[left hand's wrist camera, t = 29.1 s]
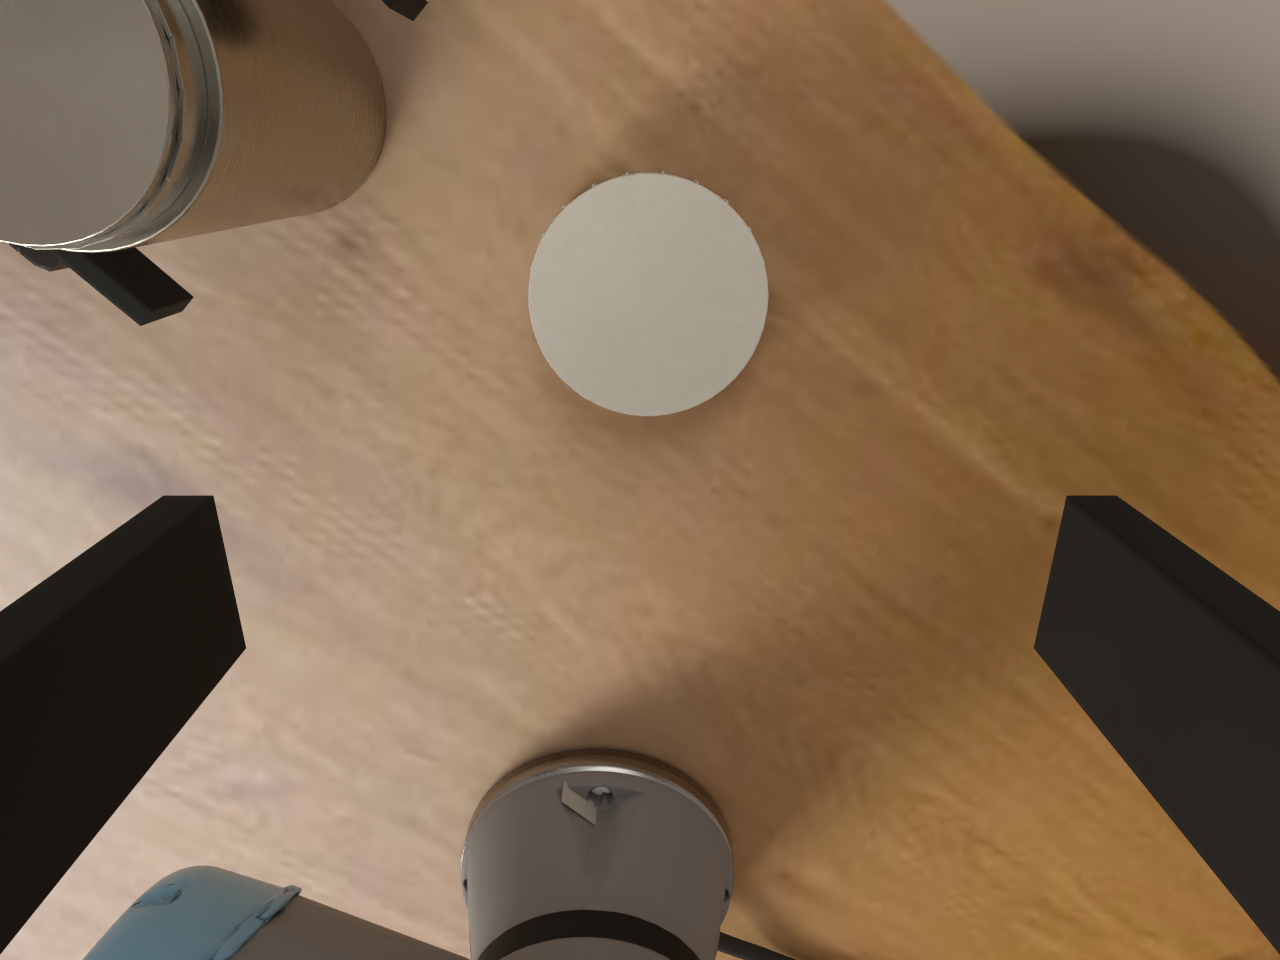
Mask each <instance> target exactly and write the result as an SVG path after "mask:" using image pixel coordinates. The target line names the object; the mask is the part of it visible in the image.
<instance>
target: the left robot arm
mask: <svg viewBox="0 0 1280 960" xmlns="http://www.w3.org/2000/svg"><path fill="white" fill-rule="evenodd" d="M245 649H246V645H245V641H244V636H243V631H242V627H241V622H240V618H239V613H238V608H237V604H236V599H235V594H234V590H233V585H232V580H231V576H230V571H229V566H228V562H227V557H226V552H225V548H224V543H223V539H222V534H221V529H220V525H219V520H218V515H217V511H216V506H215V501H214V497H213V496H162V497H161V498H160V499H158V500H157V501H155V502H154V503H153V504H151V505H150V506H148V507H147V508H145V509H144V510H143V511H141V512H140V513H138V514H137V515H136V516H134V517H133V518H131V519H130V520H129V521H127V522H126V523H124V524H123V525H122V526H120V527H119V528H117V529H116V530H115V531H113V532H112V533H110V534H109V535H107V536H106V537H105V538H103V539H102V540H100V541H99V542H98V543H96V544H95V545H93V546H92V547H91V548H89V549H88V550H86V551H85V552H84V553H82V554H81V555H79V556H78V557H76V558H75V559H74V560H72V561H71V562H69V563H68V564H67V565H65V566H64V567H62V568H61V569H60V570H58V571H57V572H55V573H54V574H53V575H51V576H50V577H48V578H47V579H46V580H44V581H43V582H41V583H40V584H38V585H37V586H36V587H34V588H33V589H31V590H30V591H29V592H27V593H26V594H24V595H23V596H22V597H20V598H19V599H17V600H16V601H15V602H13V603H12V604H10V605H9V606H8V607H6V608H5V609H3V610H2V611H0V954H1V953H2V952H3V950H4V949H5V948H6V947H7V945H8V944H9V943H10V942H11V940H12V939H13V938H14V937H15V935H16V934H17V933H18V932H19V930H20V929H21V928H22V927H23V925H24V924H25V923H26V922H27V920H28V919H29V918H30V917H31V915H32V914H33V913H34V912H35V910H36V909H37V908H38V907H39V905H40V904H41V903H42V902H43V900H44V899H45V898H46V897H47V895H48V894H49V893H50V892H51V890H52V889H53V888H54V887H55V885H56V884H57V883H58V882H59V881H60V879H61V878H62V877H63V876H64V874H65V873H66V872H67V871H68V869H69V868H70V867H71V866H72V864H73V863H74V862H75V861H76V859H77V858H78V857H79V856H80V854H81V853H82V852H83V851H84V849H85V848H86V847H87V846H88V844H89V843H90V842H91V841H92V839H93V838H94V837H95V836H96V834H97V833H98V832H99V831H100V829H101V828H102V827H103V826H104V824H105V823H106V822H107V821H108V819H109V818H110V817H111V816H112V814H113V813H114V812H115V811H116V809H117V808H118V807H119V806H120V805H121V803H122V802H123V801H124V800H125V798H126V797H127V796H128V795H129V793H130V792H131V791H132V790H133V788H134V787H135V786H136V785H137V783H138V782H139V781H140V780H141V778H142V777H143V776H144V775H145V773H146V772H147V771H148V770H149V768H150V767H151V766H152V765H153V763H154V762H155V761H156V760H157V758H158V757H159V756H160V755H161V753H162V752H163V751H164V750H165V748H166V747H167V746H168V745H169V743H170V742H171V741H172V740H173V738H174V737H175V736H176V735H177V733H178V732H179V731H180V730H181V729H182V727H183V726H184V725H185V724H186V722H187V721H188V720H189V719H190V717H191V716H192V715H193V714H194V712H195V711H196V710H197V709H198V707H199V706H200V705H201V704H202V702H203V701H204V700H205V699H206V697H207V696H208V695H209V694H210V692H211V691H212V690H213V689H214V687H215V686H216V685H217V684H218V682H219V681H220V680H221V679H222V677H223V676H224V675H225V674H226V672H227V671H228V670H229V669H230V667H231V666H232V665H233V664H234V662H235V661H236V660H237V659H238V657H239V656H240V655H241V654H242V653H243V651H244V650H245ZM1034 649H1035V650H1036V651H1037V653H1038V654H1039V655H1040V656H1041V657H1042V659H1043V660H1044V661H1045V662H1046V664H1047V665H1048V666H1049V667H1050V669H1051V670H1052V671H1053V672H1054V674H1055V675H1056V676H1057V677H1058V679H1059V680H1060V681H1061V682H1062V684H1063V685H1064V686H1065V687H1066V689H1067V690H1068V691H1069V692H1070V694H1071V695H1072V696H1073V697H1074V699H1075V700H1076V701H1077V702H1078V704H1079V705H1080V706H1081V707H1082V709H1083V710H1084V711H1085V712H1086V714H1087V715H1088V716H1089V717H1090V719H1091V720H1092V721H1093V722H1094V724H1095V725H1096V726H1097V727H1098V729H1099V730H1100V731H1101V732H1102V733H1103V735H1104V736H1105V737H1106V738H1107V740H1108V741H1109V742H1110V743H1111V745H1112V746H1113V747H1114V748H1115V750H1116V751H1117V752H1118V753H1119V755H1120V756H1121V757H1122V758H1123V760H1124V761H1125V762H1126V763H1127V765H1128V766H1129V767H1130V768H1131V770H1132V771H1133V772H1134V773H1135V775H1136V776H1137V777H1138V778H1139V780H1140V781H1141V782H1142V783H1143V785H1144V786H1145V787H1146V788H1147V790H1148V791H1149V792H1150V793H1151V795H1152V796H1153V797H1154V798H1155V800H1156V801H1157V802H1158V803H1159V805H1160V806H1161V807H1162V808H1163V809H1164V811H1165V812H1166V813H1167V814H1168V816H1169V817H1170V818H1171V819H1172V821H1173V822H1174V823H1175V824H1176V826H1177V827H1178V828H1179V829H1180V831H1181V832H1182V833H1183V834H1184V836H1185V837H1186V838H1187V839H1188V841H1189V842H1190V843H1191V844H1192V846H1193V847H1194V848H1195V849H1196V851H1197V852H1198V853H1199V854H1200V856H1201V857H1202V858H1203V859H1204V861H1205V862H1206V863H1207V864H1208V866H1209V867H1210V868H1211V869H1212V871H1213V872H1214V873H1215V874H1216V876H1217V877H1218V878H1219V879H1220V881H1221V882H1222V883H1223V884H1224V886H1225V887H1226V888H1227V889H1228V890H1229V892H1230V893H1231V894H1232V895H1233V897H1234V898H1235V899H1236V900H1237V902H1238V903H1239V904H1240V905H1241V907H1242V908H1243V909H1244V910H1245V912H1246V913H1247V914H1248V915H1249V917H1250V918H1251V919H1252V920H1253V922H1254V923H1255V924H1256V925H1257V927H1258V928H1259V929H1260V930H1261V932H1262V933H1263V934H1264V935H1265V937H1266V938H1267V939H1268V940H1269V942H1270V943H1271V944H1272V945H1273V947H1274V948H1275V949H1276V950H1277V952H1278V953H1279V954H1280V611H1278V610H1277V609H1275V608H1274V607H1272V606H1271V605H1270V604H1268V603H1267V602H1265V601H1264V600H1263V599H1261V598H1260V597H1258V596H1257V595H1256V594H1254V593H1253V592H1251V591H1250V590H1249V589H1247V588H1246V587H1244V586H1243V585H1242V584H1240V583H1239V582H1237V581H1236V580H1234V579H1233V578H1232V577H1230V576H1229V575H1227V574H1226V573H1225V572H1223V571H1222V570H1220V569H1219V568H1218V567H1216V566H1215V565H1213V564H1212V563H1211V562H1209V561H1208V560H1206V559H1205V558H1204V557H1202V556H1201V555H1199V554H1198V553H1196V552H1195V551H1194V550H1192V549H1191V548H1189V547H1188V546H1187V545H1185V544H1184V543H1182V542H1181V541H1180V540H1178V539H1177V538H1175V537H1174V536H1173V535H1171V534H1170V533H1168V532H1167V531H1165V530H1164V529H1163V528H1161V527H1160V526H1158V525H1157V524H1156V523H1154V522H1153V521H1151V520H1150V519H1149V518H1147V517H1146V516H1144V515H1143V514H1142V513H1140V512H1139V511H1137V510H1136V509H1135V508H1133V507H1132V506H1130V505H1129V504H1127V503H1126V502H1125V501H1123V500H1122V499H1120V498H1119V497H1118V496H1067V497H1066V501H1065V506H1064V511H1063V515H1062V520H1061V525H1060V529H1059V534H1058V538H1057V543H1056V548H1055V552H1054V557H1053V562H1052V566H1051V571H1050V576H1049V580H1048V585H1047V590H1046V594H1045V599H1044V604H1043V608H1042V613H1041V617H1040V622H1039V627H1038V631H1037V636H1036V641H1035V645H1034ZM461 878H462V889H463V895H464V900H465V904H466V906H467V909H468V913H469V936H470V950H471V960H715V958H716V953H717V950H718V951H721V952H724V953H726V954H729V955H732V956H735V957H737V958H740V959H743V960H795V959H792V958H790V957H787V956H784V955H782V954H779V953H776V952H774V951H771V950H769V949H766V948H763V947H761V946H758V945H755V944H752V943H749V942H746V941H743V940H740V939H738V938H735V937H732V936H729V935H727V934H724V933H722V932H720V925H721V924H722V922H723V920H724V918H725V915H726V913H727V910H728V907H729V903H730V899H731V895H732V889H733V883H734V862H733V854H732V846H731V839H730V834H729V829H728V827H727V824H726V821H725V819H724V817H723V815H722V812H721V811H720V809H719V807H718V806H717V804H716V803H715V801H714V800H713V799H712V798H711V796H710V795H709V794H708V793H707V792H706V791H705V790H704V789H703V788H702V787H701V786H700V785H699V784H698V783H696V782H695V781H694V780H693V779H691V778H690V777H689V776H687V775H686V774H684V773H683V772H681V771H680V770H678V769H676V768H674V767H672V766H670V765H668V764H666V763H664V762H661V761H659V760H657V759H654V758H651V757H648V756H645V755H641V754H637V753H633V752H627V751H621V750H613V749H578V750H571V751H564V752H559V753H555V754H551V755H548V756H545V757H542V758H539V759H536V760H534V761H531V762H529V763H527V764H524V765H523V766H521V767H519V768H517V769H515V770H514V771H512V772H511V773H509V774H508V775H506V776H505V777H503V778H502V779H501V780H500V781H499V782H497V783H496V784H495V785H494V786H493V787H492V788H491V789H490V790H489V791H488V792H487V794H486V795H485V796H484V798H483V799H482V800H481V802H480V803H479V805H478V807H477V808H476V810H475V812H474V815H473V817H472V819H471V822H470V826H469V829H468V833H467V837H466V841H465V845H464V849H463V853H462V860H461ZM300 892H301V888H299V887H296V886H293V885H290V886H287V887H285V888H282V887H279V886H276V885H273V884H269V883H266V882H263V881H260V880H257V879H253V878H250V877H247V876H244V875H241V874H237V873H234V872H231V871H228V870H225V869H221V868H218V867H213V866H193V867H188V868H184V869H181V870H179V871H176V872H174V873H172V874H170V875H168V876H166V877H165V878H163V879H161V880H160V881H159V882H157V883H156V884H155V885H153V886H152V887H151V888H150V889H148V890H147V891H146V892H145V893H144V894H143V895H141V896H140V897H139V898H138V899H137V900H136V901H135V902H134V903H133V904H132V905H131V906H130V907H129V908H128V909H127V910H126V911H125V912H124V913H123V914H122V916H121V917H120V918H119V919H118V920H117V921H116V922H115V923H114V924H113V925H112V927H111V928H110V929H109V930H108V931H107V932H106V933H105V935H104V936H103V937H102V938H101V939H100V940H99V941H98V942H97V944H96V945H95V946H94V947H93V948H92V949H91V951H90V952H89V953H88V954H87V955H86V956H85V957H84V959H83V960H469V959H467V958H465V957H462V956H460V955H457V954H454V953H452V952H449V951H446V950H443V949H441V948H438V947H435V946H433V945H430V944H427V943H425V942H422V941H419V940H417V939H414V938H411V937H409V936H406V935H403V934H401V933H398V932H395V931H393V930H390V929H387V928H385V927H382V926H379V925H377V924H374V923H371V922H369V921H366V920H363V919H361V918H358V917H355V916H353V915H350V914H347V913H345V912H342V911H339V910H337V909H334V908H331V907H329V906H326V905H323V904H321V903H318V902H315V901H313V900H310V899H307V898H305V897H302V896H300V895H298V894H299V893H300Z"/></svg>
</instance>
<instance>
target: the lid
mask: <svg viewBox="0 0 1280 960" xmlns="http://www.w3.org/2000/svg"><path fill="white" fill-rule="evenodd" d="M591 186H592V188H590V189H589V190H587V191H585V192H584V193H582V194H581V195H579V196H578V197H577V198H576V199H574V200H573V201H572V202H571V203H570V204H568V203H567V204H566V205H564V206H563V208H564V209H563V210H562V211H561V213H560V214H559V215H558V216H557V217H556V218H555V219H554V221H553V222H552V224H551V225H550V226H549V228H548V229H547V231H546V232H545V233H543V234H542V237H543V238H542V240H541V242H540V244H539V246H538V248H537V251H536V254H535V257H534V260H533V263H532V266H531V267H530V270H531V272H530V277H529V289H528V305H529V313H530V318H531V323H532V327H533V330H534V333H535V337H536V340H537V342H538V344H539V346H540V348H541V350H542V353H543V355H544V356H545V358H546V359H547V361H548V362H549V364H550V366H551V367H552V368H553V370H554V371H555V372H556V373H557V374H558V376H559V377H560V378H561V379H562V380H563V381H564V382H565V383H566V384H567V385H568V386H569V387H570V388H572V389H573V390H574V391H576V392H577V393H578V394H580V395H581V396H582V397H584V398H586V399H587V400H589V401H591V402H593V403H595V404H596V405H599V406H601V407H604V408H606V409H609V410H611V411H615V412H619V413H623V414H628V415H636V416H660V415H668V414H673V413H677V412H681V411H685V410H687V409H690V408H692V407H695V406H697V405H699V404H701V403H703V402H705V401H707V400H709V399H710V398H712V397H714V396H715V395H716V394H718V393H719V392H720V391H722V390H723V389H724V388H726V387H727V386H728V385H729V384H730V383H731V382H732V381H733V380H734V379H735V378H736V377H737V376H738V374H739V373H740V372H741V371H742V370H743V368H744V367H745V366H746V364H747V363H748V361H749V360H750V358H751V356H752V355H753V353H754V351H755V349H756V347H757V345H758V343H759V340H760V338H761V335H762V332H763V328H764V325H765V320H766V315H767V310H768V298H769V295H768V280H767V274H766V269H765V264H764V263H765V260H764V259H763V257H762V254H761V252H760V249H759V246H758V244H757V242H756V240H755V238H754V236H753V234H752V232H751V230H752V229H751V228H750V227H749V226H747V225H746V224H745V222H744V221H743V219H742V218H741V217H740V216H739V215H738V214H737V212H736V211H735V210H734V209H733V208H732V207H731V206H730V205H729V204H728V203H729V201H727V200H726V199H721V198H720V197H719V196H718V195H716V194H715V193H713V192H711V191H710V190H708V189H707V188H705V187H703V186H702V185H700V184H699V182H698V181H696V180H694V182H693V181H691V180H688V179H686V178H682V177H679V176H675V175H671V174H664V171H661V173H657V172H640V173H632V174H629V172H626V173H625V175H622V176H618V177H615V178H611V179H608V180H606V181H604V182H602V183H599V184H597V185H596V183H594V184H593V185H591Z"/></svg>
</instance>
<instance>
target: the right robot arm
mask: <svg viewBox="0 0 1280 960" xmlns="http://www.w3.org/2000/svg"><path fill="white" fill-rule="evenodd" d="M382 1H383V2H384V3H385V4H386V5H387V6H388V7H389V8H390V9H392V10H394V11H396V12H398V13H399V14H401V15H403V16H405V17H407V18H408V19H410V20H412V21H414V20H415V18H416V17H417V16H418V14H419V13H420V12H421V11H422V9H423V8H424V7H425V6H426V4H427V3H428V2H427V1H426V0H382ZM9 245H10V246H12V247H13V248H14V249H15V250H16V251H19V252H20V254H21V255H23V256H24V257H25V258H26V259H28V260H29V261H30V262H31V263H32V264H34V265H36V266H38V267H41V268H43V269H46V270H48V271H55V270H60V269H65V268H71V269H72V270H73V271H74V272H75V273H77V274H78V275H79V276H80V277H82V278H83V279H84V280H85V281H86V282H88V283H89V284H90V285H91V286H93V287H94V288H95V289H96V290H97V291H99V292H100V293H101V294H102V295H103V296H105V297H106V298H107V299H108V300H110V301H111V302H112V303H113V304H114V305H116V306H117V307H118V308H119V309H120V310H122V311H123V312H124V313H125V314H127V315H128V316H129V317H130V318H131V319H133V320H134V321H135V322H136V323H138V324H139V325H140V326H142V325H144V324H147V323H150V322H153V321H156V320H159V319H162V318H164V317H167V316H170V315H173V314H176V313H179V312H182V311H183V310H184V308H185V307H186V306H187V305H188V303H189V302H190V301H191V300H192V298H193V296H192V295H191V294H189V293H188V292H187V291H186V290H185V289H184V288H182V287H181V286H180V285H179V284H178V283H176V282H175V281H174V280H173V279H172V278H171V277H169V276H168V275H167V274H166V273H165V272H164V271H162V270H161V269H160V268H159V267H158V266H156V265H155V264H154V263H153V262H152V261H151V260H149V259H148V258H147V257H146V256H145V255H144V254H142V253H141V252H140V251H139V250H138V249H136V248H135V247H133V248H128V249H123V250H118V251H110V252H98V253H87V252H71V251H66V250H60V249H38V250H35V249H33V248H29V247H25V246H21V245H16V244H11V243H9Z"/></svg>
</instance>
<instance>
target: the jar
mask: <svg viewBox="0 0 1280 960" xmlns="http://www.w3.org/2000/svg"><path fill="white" fill-rule="evenodd" d="M385 123H386V108H385V97H384V92H383V86H382V82H381V79H380V75H379V72H378V69H377V66H376V64H375V62H374V59H373V57H372V55H371V52H370V51H369V49H368V47H367V45H366V44H365V42H364V40H363V38H362V37H361V36H360V34H359V33H358V32H357V30H356V29H355V27H354V26H353V25H352V24H351V22H350V21H349V20H348V19H347V18H346V17H345V16H344V15H343V14H342V13H341V12H340V11H339V10H338V9H337V8H336V7H334V6H333V5H332V4H331V3H330V2H329V1H327V0H0V242H5V243H11V244H16V245H21V246H25V247H29V248H33V249H35V250H38V249H60V250H66V251H71V252H87V253H98V252H110V251H118V250H123V249H128V248H133V247H139V246H144V245H149V244H154V243H159V242H165V241H170V240H175V239H180V238H185V237H191V236H196V235H201V234H206V233H211V232H217V231H222V230H227V229H232V228H237V227H242V226H248V225H253V224H258V223H263V222H268V221H274V220H279V219H284V218H289V217H294V216H300V215H305V214H310V213H314V212H319V211H323V210H325V209H328V208H330V207H333V206H335V205H337V204H338V203H340V202H342V201H344V200H345V199H347V198H348V197H349V196H350V195H352V194H353V193H354V192H355V191H356V190H357V189H358V188H359V187H360V186H361V185H362V184H363V183H364V182H365V180H366V179H367V177H368V176H369V174H370V173H371V171H372V169H373V167H374V165H375V163H376V161H377V159H378V157H379V154H380V150H381V147H382V144H383V139H384V133H385Z"/></svg>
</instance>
